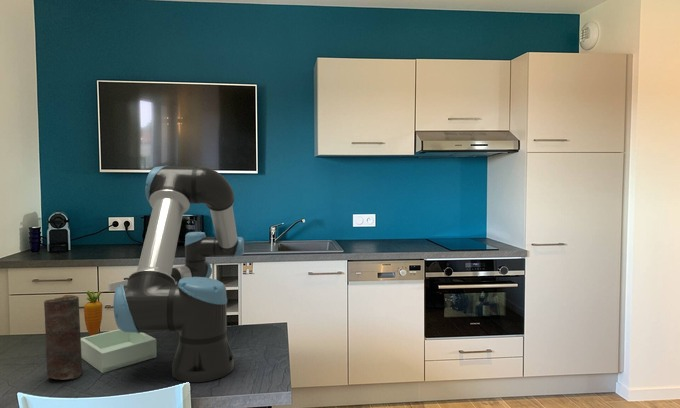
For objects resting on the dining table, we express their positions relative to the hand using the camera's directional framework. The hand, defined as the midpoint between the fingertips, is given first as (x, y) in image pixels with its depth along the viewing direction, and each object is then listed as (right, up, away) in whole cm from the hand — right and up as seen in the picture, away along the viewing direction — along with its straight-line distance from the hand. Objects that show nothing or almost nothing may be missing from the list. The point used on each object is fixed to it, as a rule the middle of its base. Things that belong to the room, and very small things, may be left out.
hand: (122, 290), depth 144 cm
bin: (+10, -14, -22) cm, 28 cm away
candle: (+3, -15, -35) cm, 38 cm away
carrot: (-5, -13, -8) cm, 17 cm away
